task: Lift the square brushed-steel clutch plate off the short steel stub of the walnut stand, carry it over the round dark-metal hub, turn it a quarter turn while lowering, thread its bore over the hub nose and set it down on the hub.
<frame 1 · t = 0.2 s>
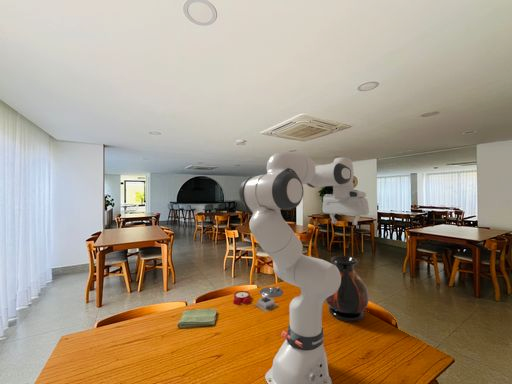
hand: (344, 224, 96), 48 cm above the table, fingers open, 8 cm apart
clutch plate: (266, 305, 116), point 1 cm above the table, touching stand
amphora vase: (345, 314, 109), on the table
hub: (271, 294, 133), on the table
washcloth: (198, 321, 105), on the table
stand: (266, 307, 116), on the table
alarm clock: (242, 302, 123), on the table
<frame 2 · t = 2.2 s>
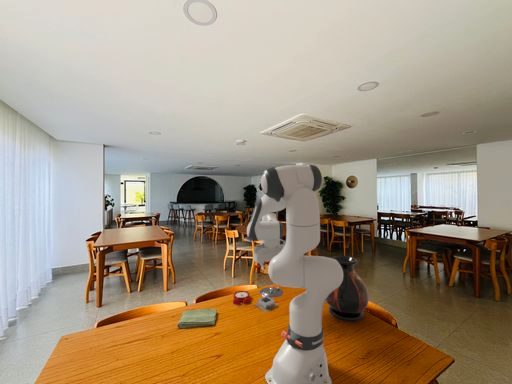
hand: (270, 267, 116), 22 cm above the table, fingers open, 8 cm apart
nothing on the table moved.
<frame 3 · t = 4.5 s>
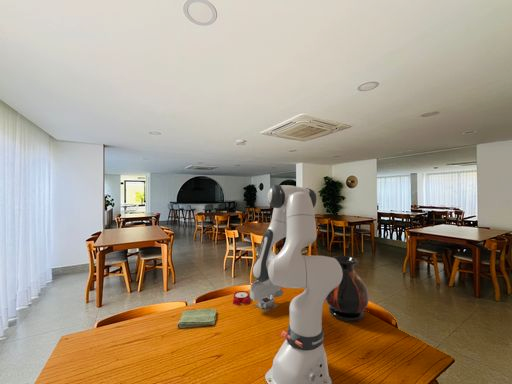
hand: (266, 303, 116), 2 cm above the table, fingers closed on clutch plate, 6 cm apart
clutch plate: (266, 305, 116), point 1 cm above the table, touching gripper, stand
everything else where it was.
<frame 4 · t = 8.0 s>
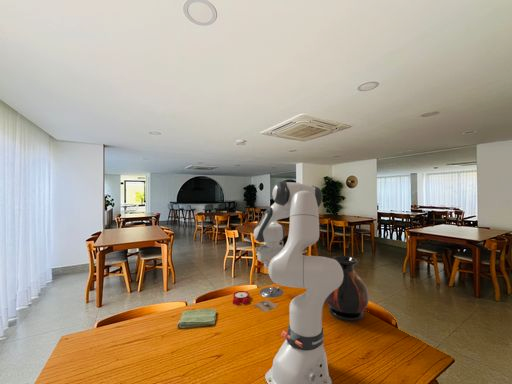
hand: (271, 265, 134), 18 cm above the table, fingers closed on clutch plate, 6 cm apart
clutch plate: (271, 267, 134), point 17 cm above the table, touching gripper
everything else where it was.
when the fingers open (3 cm above the table, at t = 11.6 s): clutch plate drops 1 cm, resting on hub.
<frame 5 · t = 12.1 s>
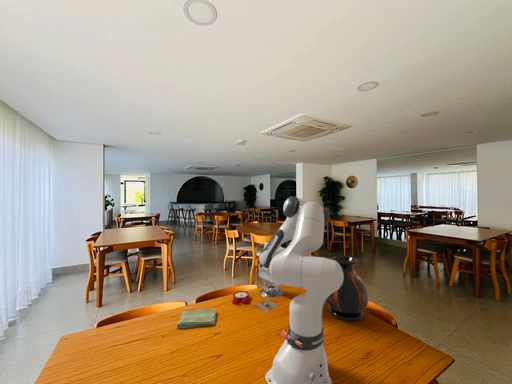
hand: (271, 288, 133), 3 cm above the table, fingers open, 8 cm apart
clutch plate: (271, 292, 133), point 1 cm above the table, touching hub
everything else where it was.
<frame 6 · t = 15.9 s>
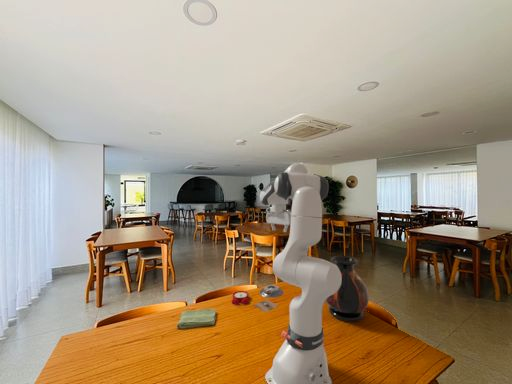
hand: (279, 231, 134), 39 cm above the table, fingers open, 8 cm apart
nothing on the table moved.
at the end: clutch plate 0.1 cm off-centre on the hub, point 1.2 cm above the hub's base; the gripper is holding nothing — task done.
